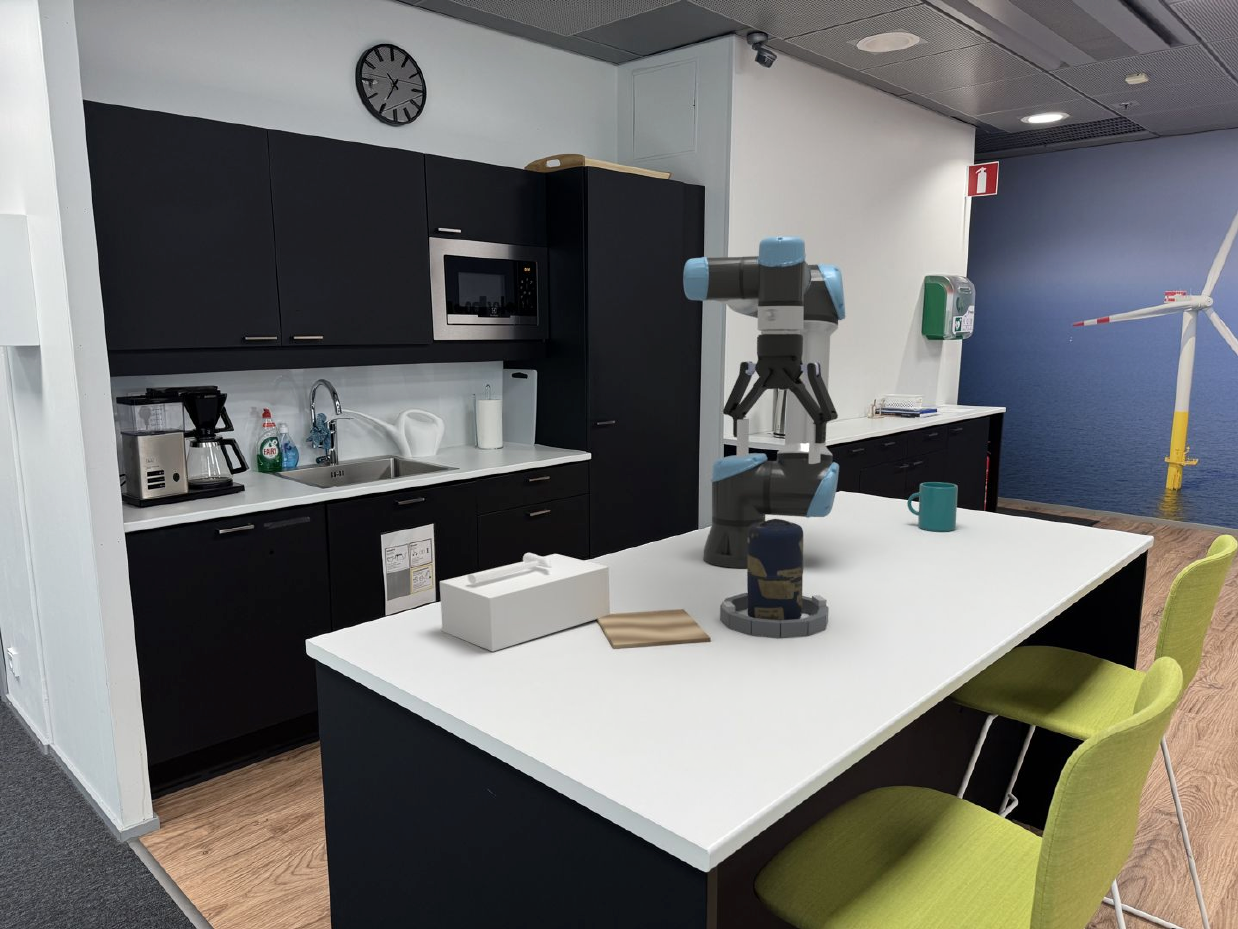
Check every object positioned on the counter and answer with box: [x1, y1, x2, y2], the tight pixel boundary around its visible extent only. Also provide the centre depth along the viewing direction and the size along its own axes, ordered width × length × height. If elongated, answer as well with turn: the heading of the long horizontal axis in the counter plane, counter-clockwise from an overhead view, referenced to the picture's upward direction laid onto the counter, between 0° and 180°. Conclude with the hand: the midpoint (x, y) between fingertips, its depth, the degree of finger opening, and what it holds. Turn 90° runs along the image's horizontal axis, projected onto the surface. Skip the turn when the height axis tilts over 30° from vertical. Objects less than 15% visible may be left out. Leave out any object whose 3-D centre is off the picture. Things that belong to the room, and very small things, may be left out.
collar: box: [719, 592, 829, 639], centre depth 158 cm, size 18×18×4 cm
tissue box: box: [439, 552, 611, 652], centre depth 155 cm, size 14×25×11 cm, turn 133°
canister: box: [746, 518, 804, 620], centre depth 157 cm, size 10×10×18 cm
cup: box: [906, 481, 959, 533], centre depth 232 cm, size 9×12×11 cm
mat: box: [595, 608, 711, 649], centre depth 153 cm, size 16×16×1 cm
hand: (777, 460), depth 154 cm, fingers open, 13 cm apart
